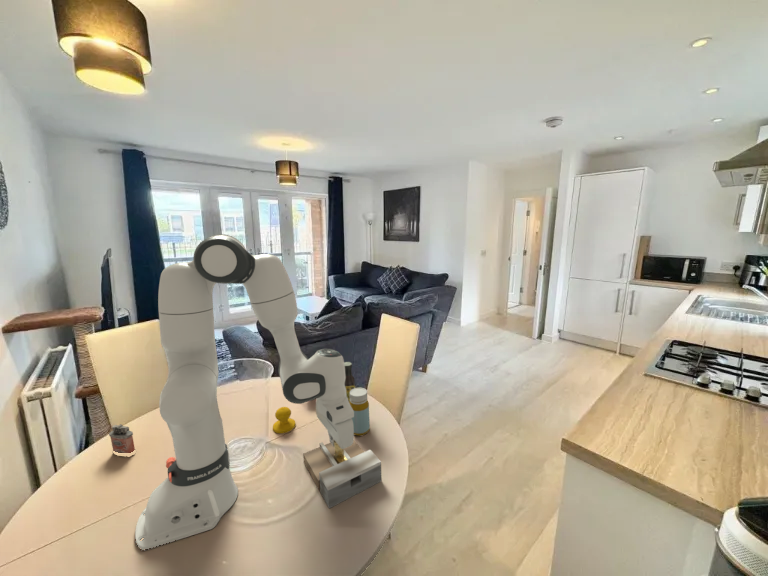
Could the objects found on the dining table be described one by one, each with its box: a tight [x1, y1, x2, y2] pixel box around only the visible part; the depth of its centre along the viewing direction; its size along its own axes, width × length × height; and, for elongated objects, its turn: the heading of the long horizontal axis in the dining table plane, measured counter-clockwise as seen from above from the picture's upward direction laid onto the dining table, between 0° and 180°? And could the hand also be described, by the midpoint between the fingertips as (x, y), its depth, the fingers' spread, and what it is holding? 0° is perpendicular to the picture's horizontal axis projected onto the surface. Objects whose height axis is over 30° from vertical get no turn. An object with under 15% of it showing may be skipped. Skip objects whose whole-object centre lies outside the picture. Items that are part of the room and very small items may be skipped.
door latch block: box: [302, 440, 383, 509], centre depth 92 cm, size 20×16×6 cm
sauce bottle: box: [344, 361, 356, 403], centre depth 123 cm, size 7×6×20 cm
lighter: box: [108, 423, 136, 453], centre depth 102 cm, size 8×3×10 cm, turn 76°
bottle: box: [349, 387, 370, 437], centre depth 111 cm, size 7×7×15 cm
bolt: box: [334, 441, 347, 464], centre depth 90 cm, size 9×3×6 cm, turn 33°
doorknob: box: [272, 406, 297, 435], centre depth 115 cm, size 8×8×8 cm
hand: (334, 444), depth 95 cm, fingers closed
